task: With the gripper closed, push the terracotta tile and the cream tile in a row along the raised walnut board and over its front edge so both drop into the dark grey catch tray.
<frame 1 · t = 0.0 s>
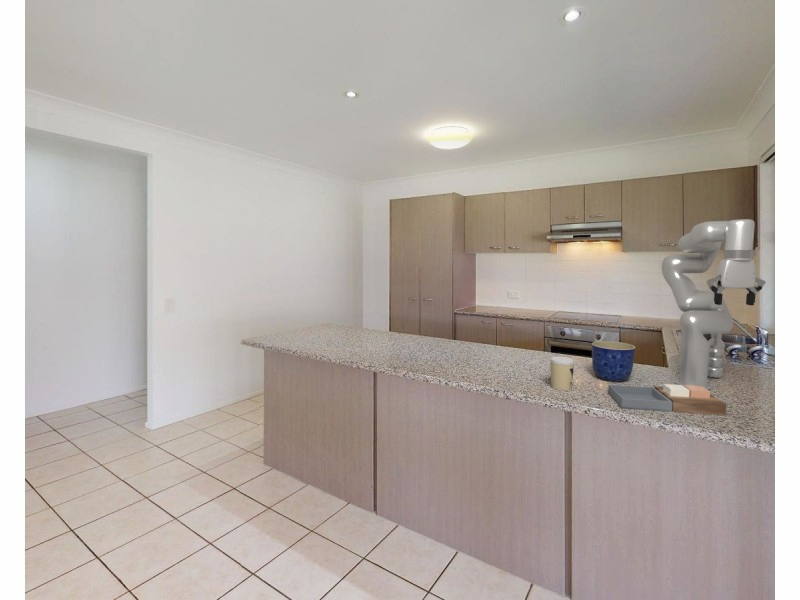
hand: (733, 304, 141), 37 cm above the countertop, tool pointing down, fingers open, 9 cm apart
walnut board: (687, 405, 146), on the countertop
plastic bottle: (713, 377, 179), on the countertop
terracotta tile: (695, 394, 145), point 4 cm above the countertop, touching walnut board
cream tile: (675, 393, 146), point 4 cm above the countertop, touching walnut board
planter: (611, 379, 178), on the countertop
coffee cup: (561, 388, 166), on the countertop
catch tray: (637, 402, 149), on the countertop
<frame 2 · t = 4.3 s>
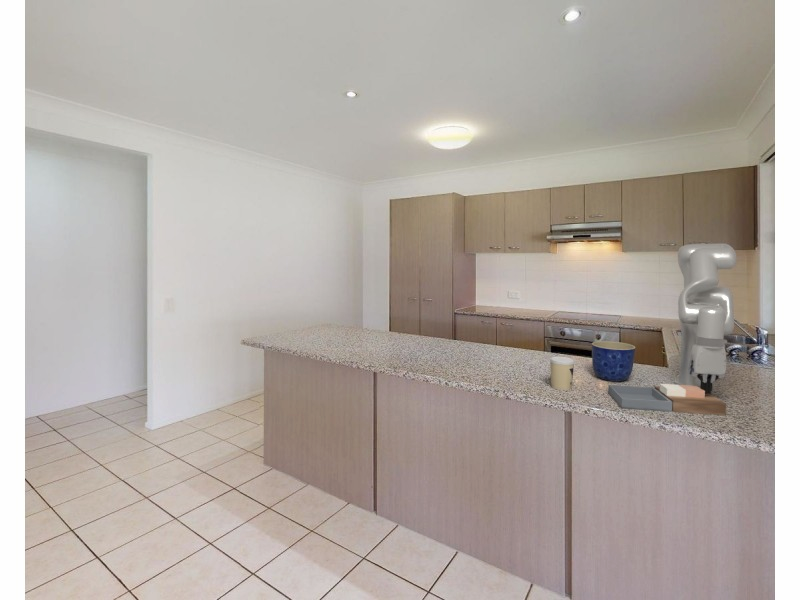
hand: (705, 392, 144), 5 cm above the countertop, tool pointing down, fingers closed
terracotta tile: (690, 394, 145), point 4 cm above the countertop, touching gripper, walnut board
cream tile: (672, 393, 146), point 4 cm above the countertop
everything else where it was.
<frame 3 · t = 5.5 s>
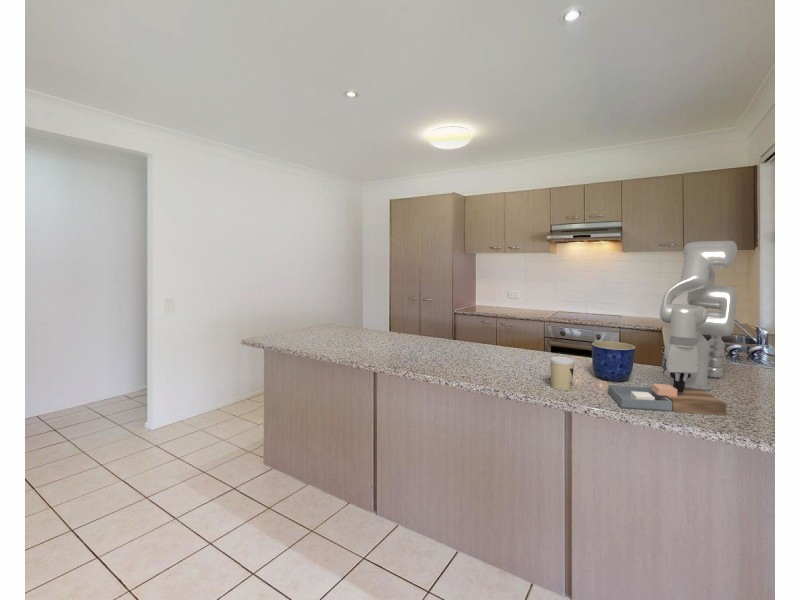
hand: (678, 390, 146), 5 cm above the countertop, tool pointing down, fingers closed
terracotta tile: (664, 393, 147), point 4 cm above the countertop, touching gripper, walnut board
cream tile: (642, 394, 148), point 3 cm above the countertop, tilted 180°, touching catch tray
everything else where it was.
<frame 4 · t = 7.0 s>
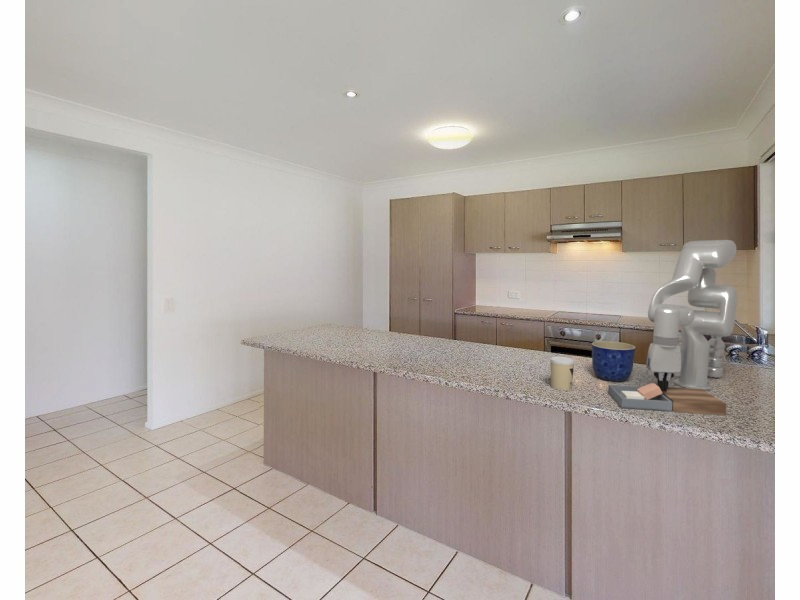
hand: (662, 390, 147), 5 cm above the countertop, tool pointing down, fingers closed
terracotta tile: (651, 394, 148), point 3 cm above the countertop, tilted 30°, touching cream tile, gripper
cream tile: (632, 393, 149), point 3 cm above the countertop, tilted 180°, touching catch tray, terracotta tile
everything else where it was.
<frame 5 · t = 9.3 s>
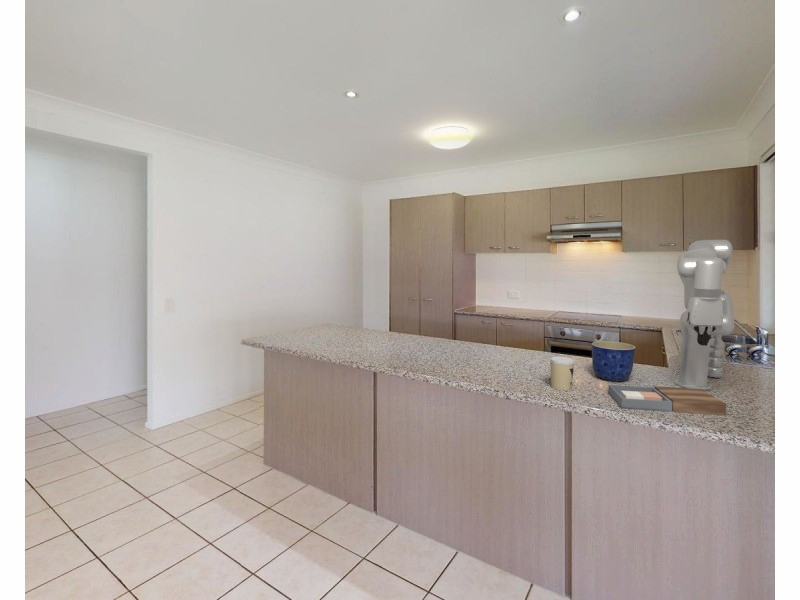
hand: (702, 344, 144), 22 cm above the countertop, tool pointing down, fingers closed
terracotta tile: (649, 401, 148), point 1 cm above the countertop, touching catch tray
cream tile: (632, 393, 149), point 3 cm above the countertop, tilted 180°, touching catch tray
everything else where it was.
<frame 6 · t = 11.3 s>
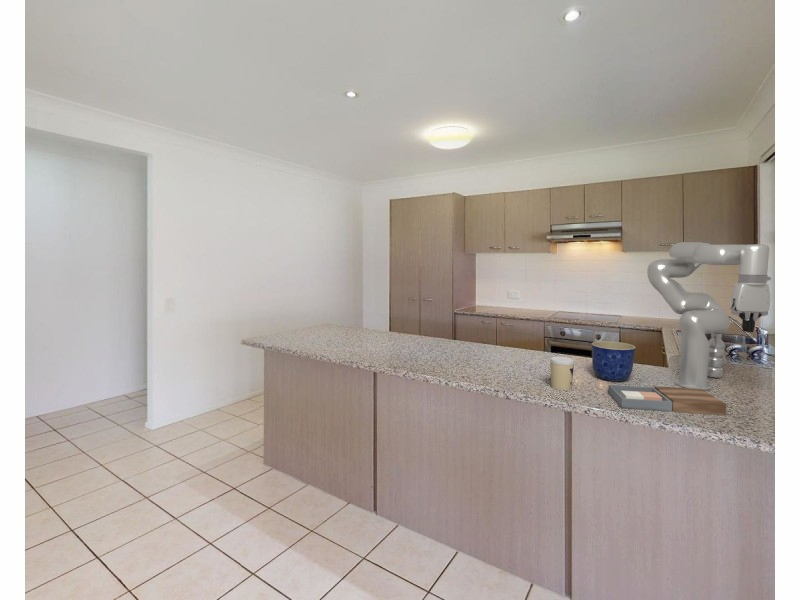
hand: (747, 331, 142), 27 cm above the countertop, tool pointing down, fingers closed
nothing on the countertop moved.
at the end: cream tile inside the target area (2.2 cm from its centre), point 3.1 cm above the countertop; terracotta tile inside the target area (3.9 cm from its centre), point 0.6 cm above the countertop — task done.
